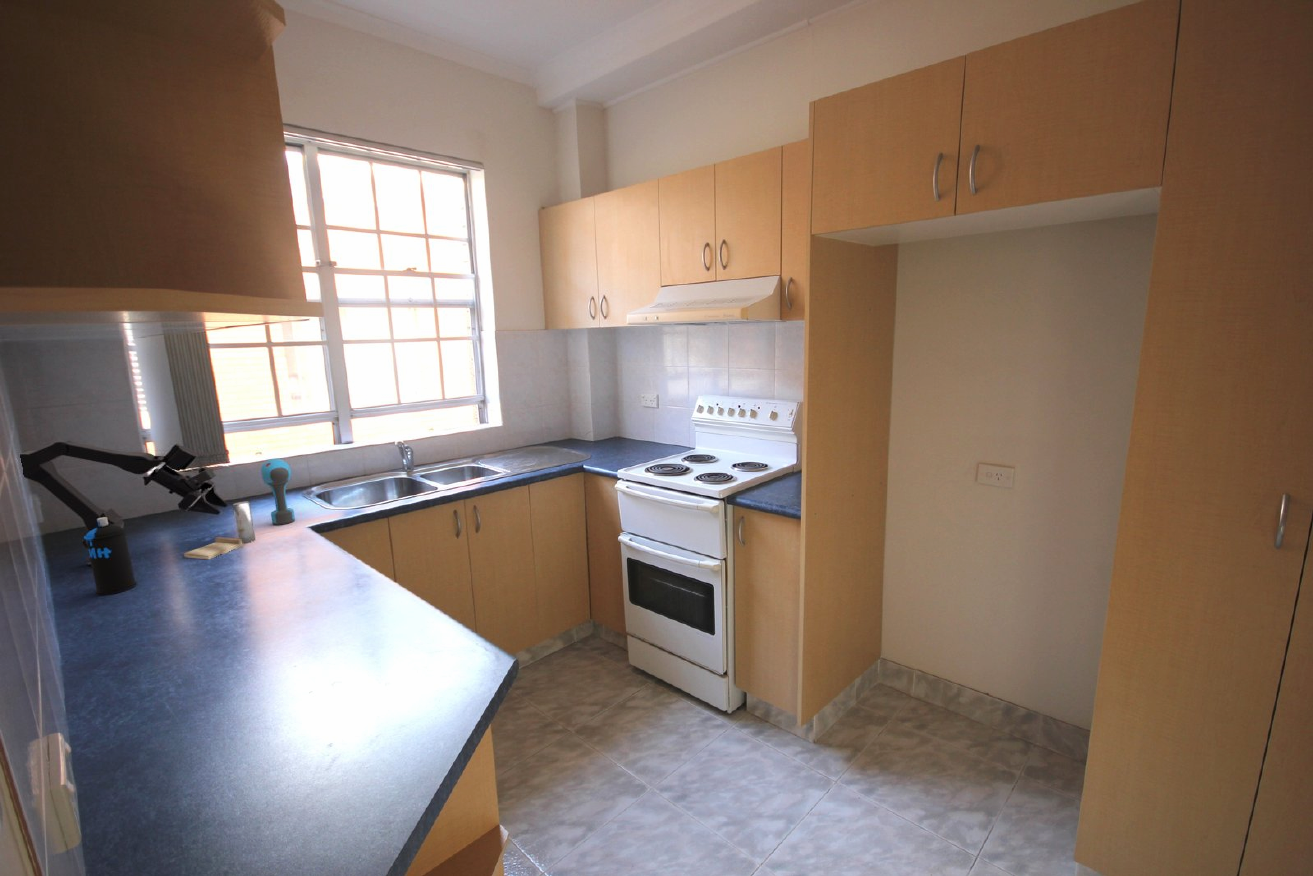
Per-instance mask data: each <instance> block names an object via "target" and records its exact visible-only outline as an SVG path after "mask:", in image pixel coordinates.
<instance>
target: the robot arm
mask: <svg viewBox="0 0 1313 876" xmlns="http://www.w3.org/2000/svg"><path fill="white" fill-rule="evenodd" d="M61 456H62V457H63V456H66V457H70V458H71V457H72V458H75V459H80V460H86V461H91V462H95V463H101V464H106V465H111V466H115V467H117V468H119V469H121V470H123V471H126V472H128V473H132V474H135V475H143V474H146V473H148V472H150V471H151V473H149V475H145V476H142V479H143V483H144V484H143V485H144V486H148V485H150V484H151V483H152V482H154V483H156V484H157V485H159V486H160V487H162V488H164V489H166V490H168V494H171V495H174V494H175V495H177V496H178V497H179V498H182V499H181V500H180V501H179V502H178V503H177V505H178V506H177V507H178V509H179V510H181V511H183V512H195V513H201V514H203V513H204V514H209V515H216V516H217V515H218V516H219V514H221V511H220V510H219V509H218V508H217V507H221V508H227V507H228V503H227V502H226V501H225V500H224V499H223V498H222V497H221V496H220V495H219V494H218V493H217V491H216V487H217V486H216V484H215V482H213V481H212V479H214V477H217V476H216V474H215V473H214V469H212V468H211V467H206V466H203V467H201V468H199V469H198V473H197V474H195V475H192V476H191V475H189V474H186V475H184V474H182V473H180V471H181V470H182V471H186V470H187V469H188V468H189V467H190V466H191V465H192V464H193V462H195V460H196V459H197V458H198V457H199V454H198V453H197V452H196V451H195V450H193V449H192V448H189V447H186V446H184V445H181V444H179V443H175V444H173V446H172V447H171V448H170V450H169V451H168V452H167V453H166V454H165V455H155V454H152V453H150V452H143V451H142V452H141V451H119V450H115V449H109V448H104V447H98V446H94V445H89V444H84V443H78V442H73V441H71V440H68V439H64V440H59V441H55V442H54V443H53V444H51V445H49V446H47V447H44V448H41V449H39V450H29V451H27V452H23V453H20V458H21V463H22V467H23V475H24V477H23V478H25V479H27V480H30V481H33V482H35V483H37V484H40V485H41V486H42V487H43V488H45V489H46V490H47V491H48V492H50V494H52V495H53V496H54V497H55V498H57V499H58V500H59V501H60V502H61V503H63V504H64V505H65V506H66V507H67V508H69V510H71V511H72V512H74V513H75V514H76V515H77V516H78V517H79V518H80V519H81V520H82V521H83V524H84V527H85V529H86V530H87V532H89V531H91V530H92V529H94V528H97V527H98V522H97V519H98V518H102V517H107V520H108V524H110V525H117V526H120V527H122V528H124V525H125V522H124V520H123V516H121V515H119V514H117V512H116V511H115V510H114V509H113V508H109V509H107V510H104V509H101V508H100V507H98V506H97V505H96V504H95V503H93V502H92V501H91V500H90V499H89V498H88V497H86V496H85V495H84V494H83V493H81V492H80V491H79V489H77V488H75V487H74V486H73V485H72V484H71V483H70V482H69V481H67V479H65V478H64V477H63V476H62V475H61V474H59V473H58V471H57V469H56V466H55V464H54V463H53V460H56V459H58V458H60V457H61ZM160 465H162V466H161V467H160V468H157V467H159V466H160ZM215 506H216V507H215ZM124 529H125V528H124ZM82 545H83V546H84V547H85V548H86V549H87V553H88V555H89V552H88V548H87V543H86V539H84V540H83V541H82ZM88 558H89V562H87V563H86V566H91V561H90V557H89V556H88Z"/></svg>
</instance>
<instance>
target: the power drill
mask: <svg viewBox="0 0 1313 876" xmlns="http://www.w3.org/2000/svg"><path fill="white" fill-rule="evenodd" d="M260 474H261V476H262V480H263V482H264V484H265V485H266V486H268V487H270V489H271V491H272V494H273V498H274V504H275V510H273V511H271V512H270V518H271V522H272V524H273V525H275V526H281V525H282V526H283V525H286V524H291V523H293V522H294V521H296V517H295V510H294V509H293V508H291V507H290V508H289V507H288V503H287V497H286V487H287V484H288V483H289V482H290V481H291V480H290V479H291V476H292V470H291V468H290V465H289V463H287V462H286V461H285V460H283V459H279V458H270V459H268V460H266V461H265V462H263V463H262V465H261V467H260Z"/></svg>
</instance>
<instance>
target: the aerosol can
mask: <svg viewBox="0 0 1313 876" xmlns="http://www.w3.org/2000/svg"><path fill="white" fill-rule="evenodd" d="M97 522H98V527H97V528H94V529H92V530H91V531H87V533H86V534H85V535H84V536H83V539H84V540H85V539H86V543H87V548H88V550H87V553H88V552H89V554H88V558H89V557H90V559H89V562H90V561H91V565H90V566H91V571H92V576H93V580H94V584H95V588H96V592H95V594H96V595H97V596H110V595H115V594H120V593H123V592H127V591H129V590H131V589H133V588H134V587H136V586H137V585H138V582H137V581H136V580H135V575H134V569H133V565H132V564H133V563H132V560H131V556H130V550H129V545H128V540H127V536H126V529H125V528H122V527H120V526H117V525H110V524H108V520H107V517H102V518H98V519H97ZM87 548H86V549H87ZM122 591H123V592H122ZM119 592H120V593H119Z"/></svg>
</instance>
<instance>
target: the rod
mask: <svg viewBox="0 0 1313 876" xmlns="http://www.w3.org/2000/svg"><path fill="white" fill-rule="evenodd" d="M232 507H233V514H234V520H235V521H234V522H235V526H236V532H237V537H238V538H237V539H242V545H244V544H248V542H250V543H252V542H251V541H253V540H255V541H256V533H255V528H254V521H253V516H252V510H251V504H250V501H248V500H247V501H238V502H235V503H233V504H232ZM253 542H254V541H253ZM243 543H244V544H243Z"/></svg>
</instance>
